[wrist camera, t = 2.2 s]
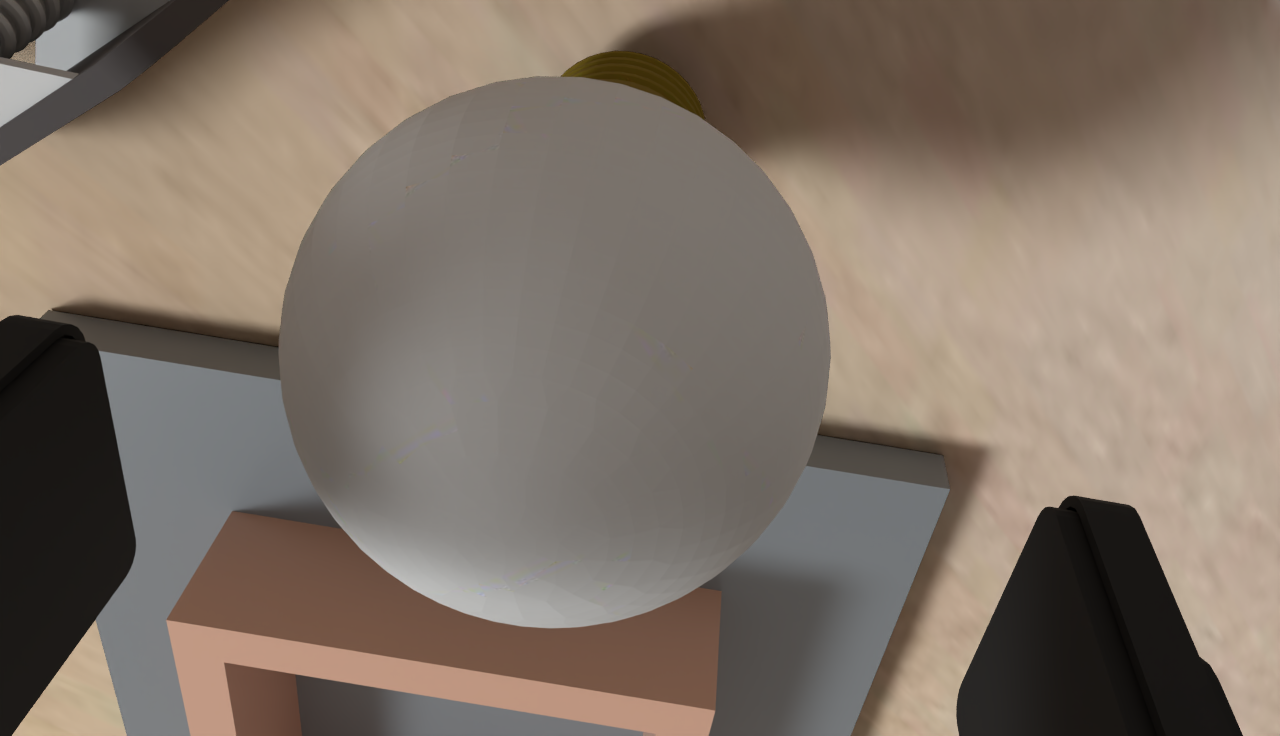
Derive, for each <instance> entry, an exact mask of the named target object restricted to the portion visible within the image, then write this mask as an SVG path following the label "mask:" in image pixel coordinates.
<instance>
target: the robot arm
mask: <svg viewBox="0 0 1280 736" xmlns="http://www.w3.org/2000/svg"><path fill="white" fill-rule="evenodd" d="M135 552H136V537H135V532H134V527H133V522H132V516H131V511H130V506H129V501H128V496H127V491H126V486H125V480H124V475H123V470H122V465H121V460H120V455H119V450H118V444H117V439H116V434H115V429H114V424H113V419H112V413H111V408H110V403H109V398H108V393H107V388H106V383H105V377H104V372H103V367H102V362H101V357H100V354H99V351H98V349H97V347H96V346H95V345H94V344H92V343H90V342H86V341H85V338H84V335H83V333H82V332H81V331H80V329H79V328H78V327H76V326H74V325H72V324H67V323H61V322H56V321H50V320H44V319H38V318H32V317H26V316H20V315H14V316H9V317H7V318H5V319H3V320H2V321H0V736H12V734H13V733H14V731H15V730H16V729H17V727H18V726H19V725H20V723H21V722H22V720H23V719H24V718H25V716H26V715H27V713H28V712H29V711H30V709H31V708H32V707H33V705H34V704H35V702H36V701H37V700H38V698H39V697H40V695H41V694H42V693H43V691H44V690H45V689H46V687H47V686H48V684H49V683H50V682H51V680H52V679H53V678H54V676H55V675H56V673H57V672H58V671H59V669H60V668H61V666H62V665H63V664H64V662H65V661H66V660H67V658H68V657H69V655H70V654H71V653H72V651H73V650H74V648H75V647H76V646H77V644H78V643H79V642H80V640H81V639H82V637H83V636H84V635H85V633H86V632H87V630H88V629H89V628H90V626H91V625H92V624H93V622H94V621H95V619H96V618H97V617H98V615H99V614H100V612H101V611H102V610H103V608H104V607H105V606H106V604H107V603H108V601H109V600H110V599H111V597H112V596H113V594H114V593H115V592H116V590H117V589H118V588H119V586H120V585H121V583H122V582H123V581H124V579H125V578H126V576H127V574H128V573H129V571H130V569H131V566H132V564H133V561H134V557H135ZM957 725H958V731H959V736H1243V735H1242V732H1241V730H1240V728H1239V726H1238V723H1237V721H1236V719H1235V716H1234V714H1233V712H1232V709H1231V707H1230V705H1229V703H1228V700H1227V698H1226V696H1225V693H1224V691H1223V689H1222V686H1221V684H1220V682H1219V680H1218V678H1217V676H1216V675H1215V673H1214V671H1213V670H1212V668H1211V666H1210V665H1209V664H1208V663H1207V662H1206V661H1204V660H1203V659H1202V658H1201V657H1199V655H1198V652H1197V650H1196V648H1195V645H1194V643H1193V641H1192V638H1191V636H1190V634H1189V631H1188V629H1187V627H1186V624H1185V622H1184V619H1183V617H1182V615H1181V612H1180V610H1179V608H1178V605H1177V603H1176V601H1175V598H1174V596H1173V594H1172V591H1171V589H1170V587H1169V584H1168V582H1167V579H1166V577H1165V575H1164V572H1163V570H1162V568H1161V565H1160V563H1159V561H1158V558H1157V556H1156V554H1155V551H1154V549H1153V547H1152V544H1151V542H1150V539H1149V537H1148V535H1147V532H1146V530H1145V528H1144V525H1143V523H1142V521H1141V518H1140V516H1139V514H1138V513H1137V511H1136V510H1135V508H1133V507H1131V506H1130V505H1126V504H1120V503H1114V502H1108V501H1102V500H1096V499H1091V498H1085V497H1079V496H1069V497H1067V498H1066V499H1065V500H1064V501H1063V502H1062V503H1061V505H1060V506H1059V508H1054V507H1045V508H1044V509H1043V510H1042V511H1041V513H1040V514H1039V516H1038V518H1037V520H1036V522H1035V525H1034V527H1033V529H1032V531H1031V533H1030V535H1029V538H1028V540H1027V542H1026V544H1025V546H1024V548H1023V551H1022V553H1021V555H1020V557H1019V559H1018V562H1017V564H1016V566H1015V568H1014V570H1013V572H1012V575H1011V577H1010V579H1009V581H1008V583H1007V586H1006V588H1005V590H1004V592H1003V594H1002V596H1001V599H1000V601H999V603H998V605H997V607H996V609H995V612H994V614H993V616H992V618H991V620H990V623H989V625H988V627H987V629H986V631H985V633H984V636H983V638H982V640H981V642H980V644H979V647H978V649H977V651H976V653H975V655H974V657H973V660H972V662H971V664H970V666H969V668H968V670H967V673H966V675H965V677H964V679H963V681H962V684H961V687H960V689H959V694H958V699H957Z"/></svg>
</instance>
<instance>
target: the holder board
mask: <svg viewBox="0 0 1280 736" xmlns="http://www.w3.org/2000/svg"><path fill="white" fill-rule="evenodd" d="M40 319H44V320H50V321H56V322H61V323H67V324H72V325H74V326H76V327H78V328H79V329H80V331H81V332H82V333H83V335H84V338H85V341H86V342H90V343H92V344H94V345H95V346H96V347H97V349H98V351H99V354H100V357H101V362H102V367H103V372H104V377H105V383H106V388H107V393H108V398H109V403H110V408H111V413H112V419H113V424H114V429H115V434H116V439H117V444H118V450H119V455H120V460H121V465H122V470H123V475H124V480H125V486H126V491H127V496H128V501H129V506H130V511H131V516H132V522H133V527H134V532H135V537H136V552H135V557H134V561H133V564H132V566H131V569H130V571H129V573H128V574H127V576H126V578H125V579H124V581H123V582H122V583H121V585H120V586H119V588H118V589H117V590H116V592H115V593H114V594H113V596H112V597H111V599H110V600H109V601H108V603H107V604H106V606H105V607H104V608H103V610H102V611H101V612H100V614H99V615H98V617H97V618H96V623H97V626H98V630H99V634H100V638H101V641H102V645H103V649H104V652H105V656H106V660H107V663H108V667H109V671H110V675H111V678H112V682H113V686H114V689H115V693H116V697H117V700H118V704H119V708H120V712H121V715H122V719H123V723H124V726H125V730H126V734H127V736H851V733H852V731H853V729H854V726H855V724H856V721H857V719H858V716H859V714H860V711H861V709H862V706H863V704H864V701H865V699H866V696H867V694H868V691H869V689H870V686H871V684H872V682H873V679H874V677H875V674H876V672H877V669H878V667H879V664H880V662H881V659H882V657H883V654H884V652H885V649H886V647H887V644H888V642H889V639H890V637H891V635H892V632H893V630H894V627H895V625H896V622H897V620H898V617H899V615H900V612H901V610H902V607H903V605H904V602H905V600H906V597H907V595H908V592H909V590H910V588H911V585H912V583H913V580H914V578H915V575H916V573H917V570H918V568H919V565H920V563H921V560H922V558H923V555H924V553H925V550H926V548H927V545H928V543H929V541H930V538H931V536H932V533H933V531H934V528H935V526H936V523H937V521H938V518H939V516H940V513H941V511H942V508H943V506H944V503H945V501H946V498H947V496H948V494H949V491H950V486H949V481H948V476H947V471H946V466H945V462H944V457H943V455H938V454H932V453H925V452H919V451H913V450H907V449H901V448H895V447H888V446H882V445H876V444H870V443H864V442H858V441H851V440H845V439H839V438H833V437H827V436H821V435H817V437H816V440H815V443H814V446H813V450H812V453H811V455H810V457H809V460H808V462H807V465H806V466H805V468H804V470H803V472H802V474H801V476H800V478H799V480H798V481H797V483H796V485H795V487H794V489H793V491H792V493H791V494H790V496H789V498H788V500H787V501H786V503H785V505H784V506H783V507H782V509H781V510H780V511H779V513H778V514H777V515H776V517H775V518H774V519H773V520H772V522H771V523H770V524H769V525H768V527H767V528H766V529H765V530H764V532H763V533H762V534H761V535H760V536H759V538H758V539H757V540H756V541H755V542H754V543H753V544H752V545H751V546H750V547H749V548H748V549H747V550H746V551H745V552H744V553H743V554H742V555H740V556H739V557H738V558H737V559H736V560H735V561H734V562H732V563H731V564H730V565H729V566H728V567H727V568H726V569H724V570H723V571H722V572H720V573H719V574H718V575H717V576H715V577H714V578H712V579H711V580H709V581H707V582H706V583H704V584H703V585H701V586H699V587H698V588H696V589H695V590H693V591H691V592H690V593H688V594H686V595H684V596H683V597H681V598H679V599H677V600H675V601H672V602H670V603H668V604H665V605H663V606H661V607H659V608H656V609H654V610H652V611H649V612H646V613H643V614H640V615H636V616H633V617H629V618H626V619H622V620H619V621H615V622H610V623H603V624H597V625H591V626H584V627H572V628H537V627H522V626H516V625H510V624H505V623H499V622H493V621H490V620H486V619H483V618H479V617H476V616H472V615H468V614H465V613H463V612H460V611H457V610H455V609H452V608H450V607H447V606H445V605H442V604H440V603H438V602H436V601H434V600H432V599H430V598H428V597H426V596H424V595H422V594H421V593H419V592H417V591H415V590H413V589H411V588H410V587H409V586H407V585H406V584H404V583H403V582H401V581H400V580H398V579H397V578H395V577H394V576H392V575H391V574H389V573H388V572H387V571H385V570H384V569H383V568H382V567H381V566H380V565H378V564H377V563H376V562H375V561H374V560H373V559H371V558H370V557H369V556H368V555H367V554H366V553H364V552H363V551H362V550H361V549H360V548H359V547H358V545H357V544H356V543H355V542H354V541H353V540H352V539H351V538H350V537H349V535H348V534H347V533H346V532H345V531H344V530H343V529H342V528H341V526H340V525H339V524H338V523H337V522H336V520H335V519H334V518H333V516H332V515H331V513H330V512H329V510H328V509H327V507H326V506H325V504H324V503H323V501H322V500H321V498H320V497H319V495H318V494H317V492H316V490H315V489H314V487H313V485H312V483H311V481H310V479H309V477H308V475H307V472H306V470H305V468H304V466H303V464H302V462H301V460H300V457H299V455H298V453H297V450H296V448H295V445H294V442H293V438H292V435H291V431H290V427H289V423H288V420H287V416H286V412H285V408H284V404H283V400H282V390H281V379H280V366H279V354H278V352H279V347H272V346H266V345H260V344H254V343H248V342H242V341H236V340H229V339H223V338H217V337H211V336H205V335H199V334H192V333H186V332H180V331H174V330H168V329H162V328H155V327H149V326H143V325H137V324H131V323H125V322H118V321H112V320H106V319H100V318H94V317H88V316H82V315H75V314H69V313H63V312H57V311H51V310H48V311H47V312H46V313H45V314H44V315H43V316H42V317H41V318H40Z"/></svg>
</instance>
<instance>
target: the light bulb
mask: <svg viewBox="0 0 1280 736" xmlns="http://www.w3.org/2000/svg"><path fill="white" fill-rule="evenodd" d="M278 354H279V366H280V379H281V390H282V400H283V404H284V408H285V412H286V416H287V420H288V423H289V427H290V431H291V435H292V438H293V442H294V445H295V448H296V450H297V453H298V455H299V457H300V460H301V462H302V464H303V466H304V468H305V470H306V472H307V475H308V477H309V479H310V481H311V483H312V485H313V487H314V489H315V490H316V492H317V494H318V495H319V497H320V498H321V500H322V501H323V503H324V504H325V506H326V507H327V509H328V510H329V512H330V513H331V515H332V516H333V518H334V519H335V520H336V522H337V523H338V524H339V525H340V526H341V528H342V529H343V530H344V531H345V532H346V533H347V534H348V535H349V537H350V538H351V539H352V540H353V541H354V542H355V543H356V544H357V545H358V547H359V548H360V549H361V550H362V551H363V552H364V553H366V554H367V555H368V556H369V557H370V558H371V559H373V560H374V561H375V562H376V563H377V564H378V565H380V566H381V567H382V568H383V569H384V570H385V571H387V572H388V573H389V574H391V575H392V576H394V577H395V578H397V579H398V580H400V581H401V582H403V583H404V584H406V585H407V586H409V587H410V588H411V589H413V590H415V591H417V592H419V593H421V594H422V595H424V596H426V597H428V598H430V599H432V600H434V601H436V602H438V603H440V604H442V605H445V606H447V607H450V608H452V609H455V610H457V611H460V612H463V613H465V614H468V615H472V616H476V617H479V618H483V619H486V620H490V621H493V622H499V623H505V624H510V625H516V626H522V627H537V628H572V627H584V626H591V625H597V624H603V623H610V622H615V621H619V620H622V619H626V618H629V617H633V616H636V615H640V614H643V613H646V612H649V611H652V610H654V609H656V608H659V607H661V606H663V605H665V604H668V603H670V602H672V601H675V600H677V599H679V598H681V597H683V596H684V595H686V594H688V593H690V592H691V591H693V590H695V589H696V588H698V587H699V586H701V585H703V584H704V583H706V582H707V581H709V580H711V579H712V578H714V577H715V576H717V575H718V574H719V573H720V572H722V571H723V570H724V569H726V568H727V567H728V566H729V565H730V564H731V563H732V562H734V561H735V560H736V559H737V558H738V557H739V556H740V555H742V554H743V553H744V552H745V551H746V550H747V549H748V548H749V547H750V546H751V545H752V544H753V543H754V542H755V541H756V540H757V539H758V538H759V536H760V535H761V534H762V533H763V532H764V530H765V529H766V528H767V527H768V525H769V524H770V523H771V522H772V520H773V519H774V518H775V517H776V515H777V514H778V513H779V511H780V510H781V509H782V507H783V506H784V505H785V503H786V501H787V500H788V498H789V496H790V494H791V493H792V491H793V489H794V487H795V485H796V483H797V481H798V480H799V478H800V476H801V474H802V472H803V470H804V468H805V466H806V465H807V462H808V460H809V457H810V455H811V453H812V450H813V446H814V443H815V440H816V437H817V433H818V430H819V427H820V424H821V420H822V417H823V413H824V409H825V405H826V397H827V388H828V378H829V368H830V359H831V355H830V336H829V325H828V313H827V305H826V299H825V295H824V291H823V288H822V284H821V281H820V277H819V274H818V270H817V267H816V263H815V260H814V257H813V254H812V251H811V249H810V247H809V245H808V243H807V240H806V238H805V236H804V234H803V232H802V230H801V228H800V226H799V224H798V222H797V220H796V218H795V216H794V214H793V212H792V210H791V208H790V207H789V205H788V204H787V203H786V201H785V200H784V199H783V197H782V196H781V194H780V193H779V192H778V190H777V189H776V187H775V186H774V185H773V183H772V182H771V181H770V179H769V178H768V176H767V175H766V174H765V173H764V171H763V170H762V169H761V168H760V167H759V166H758V165H757V164H756V163H755V162H754V161H753V160H752V159H751V158H750V157H749V156H748V155H747V154H746V153H745V152H744V151H743V150H742V149H741V148H740V147H739V146H738V145H737V144H736V143H735V142H734V141H732V140H731V139H729V138H728V137H727V136H725V135H724V134H722V133H721V132H720V131H718V130H717V129H716V128H714V127H713V126H711V125H710V124H709V123H707V122H706V121H705V117H704V114H703V111H702V107H701V104H700V102H699V100H698V98H697V96H696V94H695V92H694V91H693V90H692V88H691V87H690V86H689V84H688V83H687V82H686V81H685V80H684V79H683V78H682V76H681V75H680V74H679V73H678V72H676V71H675V70H673V69H672V68H671V67H669V66H668V65H667V64H665V63H663V62H661V61H659V60H657V59H655V58H653V57H650V56H647V55H644V54H641V53H635V52H629V51H612V52H605V53H600V54H596V55H593V56H590V57H588V58H586V59H584V60H582V61H580V62H578V63H576V64H575V65H573V66H572V67H571V68H569V69H568V70H567V71H566V72H565V73H564V74H563V75H562V76H561V77H542V76H536V77H529V78H522V79H515V80H507V81H500V82H495V83H491V84H488V85H485V86H482V87H478V88H475V89H472V90H469V91H466V92H463V93H459V94H456V95H453V96H450V97H448V98H446V99H444V100H442V101H440V102H438V103H436V104H434V105H432V106H430V107H428V108H426V109H425V110H423V111H421V112H419V113H417V114H415V115H413V116H411V117H409V118H408V119H406V120H404V121H403V122H402V123H400V124H399V125H398V126H397V127H395V128H394V129H393V130H391V131H390V132H389V133H388V134H386V135H385V136H384V137H382V138H381V139H380V140H378V141H377V142H376V143H375V144H373V145H372V146H371V147H370V148H368V149H367V150H366V151H365V152H364V153H363V154H362V155H361V156H360V157H359V159H358V160H357V161H356V162H355V163H354V164H353V165H352V167H351V168H350V169H349V170H348V171H347V172H346V173H345V174H344V176H343V177H342V178H341V179H340V180H339V181H338V182H337V184H336V185H335V186H334V187H333V188H332V189H331V191H330V192H329V194H328V195H327V197H326V199H325V200H324V202H323V204H322V205H321V207H320V209H319V211H318V212H317V214H316V216H315V218H314V219H313V221H312V223H311V225H310V226H309V228H308V230H307V232H306V234H305V236H304V238H303V240H302V242H301V244H300V247H299V250H298V253H297V256H296V259H295V262H294V265H293V268H292V271H291V275H290V278H289V281H288V284H287V287H286V290H285V295H284V301H283V308H282V317H281V326H280V334H279V352H278Z"/></svg>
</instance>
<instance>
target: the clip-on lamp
mask: <svg viewBox="0 0 1280 736" xmlns="http://www.w3.org/2000/svg"><path fill="white" fill-rule="evenodd" d="M227 1H229V0H0V165H2V164H3V163H5V162H6V161H8V160H10V159H11V158H13V157H14V156H16V155H18V154H19V153H21V152H22V151H24V150H26V149H27V148H29V147H30V146H32V145H34V144H35V143H37V142H38V141H40V140H42V139H43V138H45V137H46V136H48V135H50V134H51V133H53V132H54V131H56V130H57V129H59V128H61V127H62V126H64V125H65V124H67V123H69V122H70V121H72V120H73V119H75V118H77V117H78V116H80V115H81V114H83V113H85V112H86V111H88V110H89V109H91V108H93V107H94V106H96V105H97V104H99V103H101V102H102V101H104V100H105V99H107V98H109V97H110V96H112V95H113V94H115V93H116V92H118V91H120V90H121V89H122V88H124V87H125V86H126V85H127V84H129V83H130V82H131V81H133V80H134V79H135V78H137V77H138V76H139V75H140V74H142V73H143V72H144V71H145V70H147V69H148V68H149V67H150V66H152V65H153V64H154V63H155V62H157V61H158V60H159V59H160V58H161V57H163V56H164V55H165V54H166V53H167V52H169V51H170V50H171V49H172V48H173V47H175V46H176V45H177V44H178V43H179V42H181V41H182V40H183V39H184V38H185V37H186V36H188V35H189V34H190V33H191V32H192V31H193V30H195V29H196V28H197V27H198V26H199V25H200V24H202V23H203V22H204V21H205V20H206V19H208V18H209V17H210V16H211V15H212V14H213V13H215V12H216V11H217V10H218V9H219V8H220V7H222V6H223V5H224V4H225V3H226V2H227ZM34 40H36V58H35V64H31V63H26V62H22V61H17V60H12V59H10V58H11V57H12V56H13V54H14V53H16V52H19V51H21V50H23V49H24V48H25V47H26V46H27V45H28V43H29V42H32V41H34Z"/></svg>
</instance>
